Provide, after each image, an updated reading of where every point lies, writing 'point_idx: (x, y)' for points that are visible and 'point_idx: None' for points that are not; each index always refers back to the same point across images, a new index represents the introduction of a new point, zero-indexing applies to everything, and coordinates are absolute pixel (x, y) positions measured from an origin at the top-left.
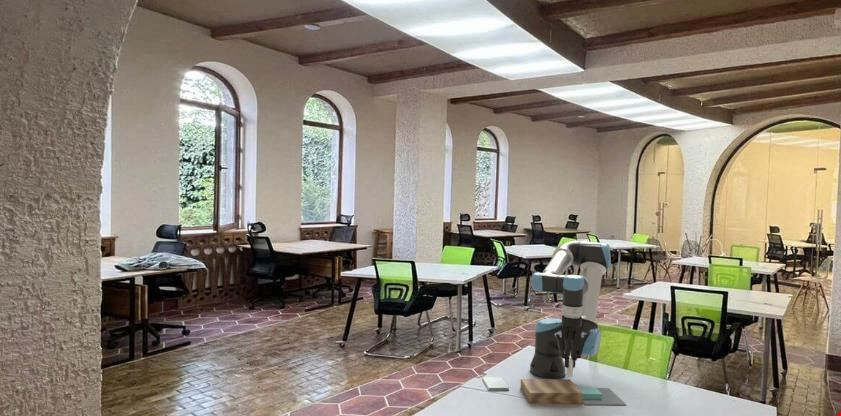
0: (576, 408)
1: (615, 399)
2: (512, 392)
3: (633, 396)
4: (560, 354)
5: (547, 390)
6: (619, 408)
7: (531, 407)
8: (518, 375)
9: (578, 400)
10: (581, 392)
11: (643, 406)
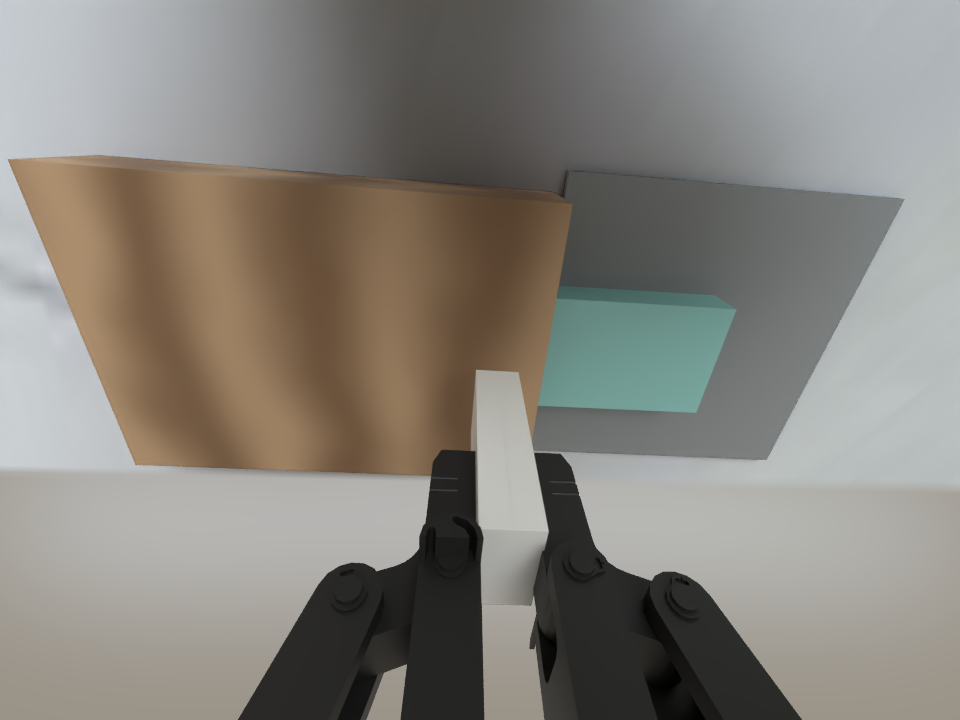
0: None
1: (761, 401)
2: (37, 236)
3: (937, 343)
4: (316, 621)
5: (277, 433)
6: (694, 482)
7: None
8: None
9: None
10: None
11: (847, 466)
